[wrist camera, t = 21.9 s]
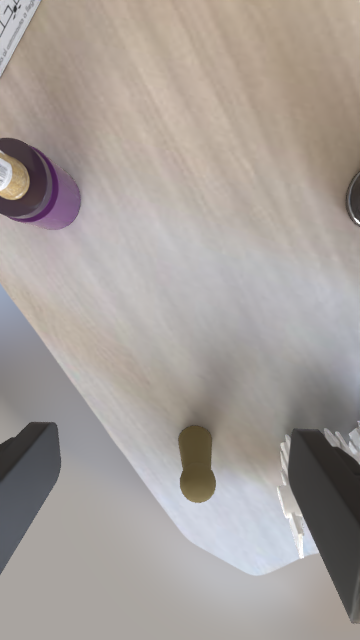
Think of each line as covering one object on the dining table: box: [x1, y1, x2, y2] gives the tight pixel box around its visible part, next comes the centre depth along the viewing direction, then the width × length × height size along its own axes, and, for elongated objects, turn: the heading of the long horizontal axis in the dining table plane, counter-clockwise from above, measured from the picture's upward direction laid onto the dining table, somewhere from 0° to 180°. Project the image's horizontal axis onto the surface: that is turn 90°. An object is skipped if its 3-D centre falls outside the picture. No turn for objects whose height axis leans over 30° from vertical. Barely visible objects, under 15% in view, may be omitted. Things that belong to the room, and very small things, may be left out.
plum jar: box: [0, 138, 81, 230], centre depth 35 cm, size 9×9×9 cm
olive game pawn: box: [178, 426, 216, 503], centre depth 42 cm, size 6×6×11 cm
